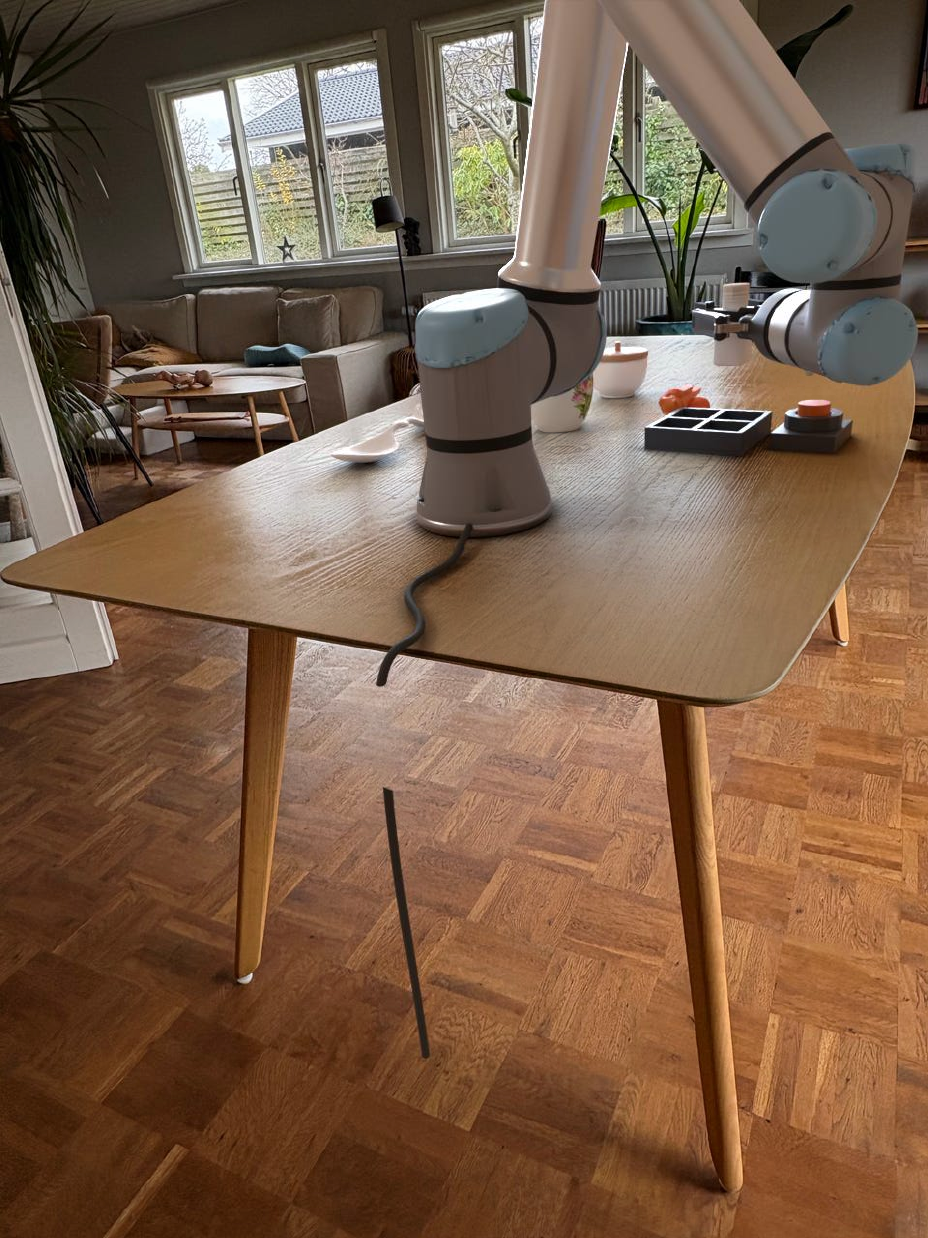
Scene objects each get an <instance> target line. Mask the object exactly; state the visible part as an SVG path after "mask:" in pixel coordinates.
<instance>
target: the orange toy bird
mask: <svg viewBox="0 0 928 1238" xmlns="http://www.w3.org/2000/svg"><path fill="white" fill-rule="evenodd" d="M701 390H702V387H701V386H699V385H693V384H690V383H688V382H687V383H686V384H683V385H681V386H679V387H669V388H667V389H666V390H665V392H664V394H662V395H661V396H660V397H659V400H658V405H659V407H660V410H661V412H662V413H663V415H664V416H666V415H668V414H670V413H671V412H673V411H675V410H677V409H679V408H681V407H688V408H709V409H711V403H710V401H709V400H708V398H706V397H704V396H702V395H699V394H700V392H701Z"/></svg>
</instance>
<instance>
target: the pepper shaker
mask: <svg viewBox="0 0 928 1238" xmlns="http://www.w3.org/2000/svg"><path fill="white" fill-rule="evenodd" d="M750 287H751V283H750V282H735V283H727V284H726V283H725V284H723V285H722V299H721V302H722V306H721V309H734V310H739V308H740V307H747V306H748V300H749V299H750ZM752 350H753V342H752V341H751V340H747V339H739V338H738V336H737V334H736V333H730V336H729V338H725V340H722V341H717V340H714V339H713V355H712V357H713V358H712V362H713V365H714V366H717V367H742V366H744V365H746V364H747V363H749V362H750V361H751V359H752Z"/></svg>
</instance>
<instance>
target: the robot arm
mask: <svg viewBox="0 0 928 1238" xmlns="http://www.w3.org/2000/svg"><path fill="white" fill-rule="evenodd" d="M542 15H543V16H542V23H541V31H540V40H539V49H538V57H537V65H536V74H535V82H534V89H533V97H532V98H533V99H532V106H531V115H530V125H529V133H528V139H527V148H526V155H525V156H526V157H525V164H524V174H523V182H522V190H521V197H520V206H519V215H518V222H517V230H516V239H515V248H514V255H513V258H512V259H511V260H510V261H509V262H508V263H507V264H506V265H504V266H503V267H502V268H501V269H500V270H499V271H498V276H497V277H498V278H497V286H496V288H486V289H479V290H472V291H466V292H464V293H462V294H453V295H450V296H447V297H446V296H445V297H442V298H440V299H437V300H435V301H433V302H430V303H429V304H427V305H425V306H424V307H423V308H421V310H419V312H418V313H417V315H416V318H415V322H414V323H415V324H414V327H415V329H414V330H415V345H414V354H415V358H416V361H417V370H418V371H417V372H418V382H419V389H420V390H419V391H420V398H421V407H422V408H421V409H423V418H424V427H425V428H424V434H425V435H424V436H425V444H426V445H425V446H426V457H425V463H424V467H423V470H422V471H423V472H422V475H421V480H420V486H419V492H418V495H417V499H416V516H417V523H418V525H419V526H420V527H421V528H423V529H425V530H426V531H429V532H432V533H434V534H437V535H442V536H449V537H457V538H458V537H459V539H458V541H457V545H456V547H455V550H454V552H453V553H452V555H451V556H450V557H448V558H447V559H446V560H444V561H443V562H441V563H440V564H438V565H436V566H434V567H432V568H430V569H428V570H427V571H424V572H423V573H421V574H419V575H418V576H416V577H415V578H414V579H413V580H412V581H411V582H409V584H408V585H407V587H406V588H405V590H404V595H403V596H404V597H403V599H404V603H405V605H406V608H407V609H408V610H409V613H411V615H412V616H413V618H414V621H415V628H414V630H413V632H412V633H411V634H409V635H408V636H406V637H405V638H403V639H401V640H399V641H397V642H396V643H395V644H394V645H392V647H390V649H389V650H388V651H387V652H386V654H385V655H384V657H383V659H382V661H381V663H380V667H379V669H378V673H377V675H376V681H375V685H376V687H379V688H380V687H381V688H382V687H384V686H386V685H387V683H388V677H389V674H390V672H391V671H390V670H391V668H392V665H393V663H394V661H395V659H396V658H397V656H399V655H400V654H401V653H402V652H404V650H406V649H408V648H410V647H411V646H413V645H414V644H416V643H418V641H420V640H421V638H422V637H423V636H424V633H425V629H426V619H425V617H424V614H423V612H422V611H421V609H420V608H419V607H418V606H417V604H416V603H415V600H414V596H413V595H414V592H415V591H416V589H417V588H418V587H419V586H421V585H422V584H424V583H426V582H427V581H428V580H430V579H432V578H434V577H436V576H438V575H440V574H441V573H443V572H445V571H446V570H448V569H450V568H451V567H452V566H453V565H454V564H455V563H456V562H458V560H459V559H460V558H461V556H462V554H463V552H464V550H465V546H466V543H467V541H468V539H469V538H482V537H484V538H485V537H495V536H501V535H508V534H512V533H517V532H521V531H524V530H528V529H530V528H533V527H536V526H537V525H540V524H541V523H543V522H544V521H546V520H547V519H548V518H549V517H550V516H551V514H552V512H553V511H552V508H553V507H552V498H551V491H550V487H549V485H548V484H547V481H546V478H545V475H544V472H543V469H542V466H541V464H540V461H539V458H538V456H537V452H536V450H535V448H534V443H533V428H532V419H531V405H532V404H534V403H537V402H539V401H542V400H544V399H547V398H549V397H552V396H558V395H561V394H564V393H567V392H569V391H570V390H572V389H573V388H575V387H576V386H577V385H579V384H580V383H582V382H583V381H585V380H586V379H587V378H588V377H589V376H590V375H591V374H592V373H593V372H594V371H595V369H596V368H597V366H598V364H599V363H600V361H601V359H602V356H603V353H604V350H605V348H606V345H607V339H608V337H607V333H608V332H607V323H606V319H605V316H604V315H603V314H602V312H601V308H600V306H599V299H600V295H601V290H602V289H601V288H602V283H601V281H600V280H599V278H598V276H597V275H596V274H595V272H594V270H593V269H592V260H593V254H594V248H595V242H596V236H597V231H598V224H599V219H600V212H601V207H602V201H603V195H604V189H605V184H606V178H607V171H608V166H609V160H610V153H611V147H612V141H613V137H614V130H615V124H616V117H617V111H618V105H619V100H620V95H621V94H620V93H621V88H622V82H623V76H624V69H625V64H626V58H627V52H628V47H630V48H631V50H632V52H633V53H634V54H635V55H636V57H637V58H638V60H639V61H640V63H641V65H643V67H644V68H645V70H646V71H647V72H648V74H649V75H650V77H651V78H652V79H653V81H654V82H655V84H656V85H657V87H658V89H659V90H660V91H661V92H662V94H663V95H664V97H665V98H666V99H667V101H668V102H669V103H670V105H671V107H672V108H673V109H674V111H675V112H676V114H677V115H678V116H679V118H680V119H681V121H682V122H683V123H684V125H685V126H686V128H687V129H688V131H689V132H690V133H691V135H692V136H693V138H694V139H695V141H696V142H697V143H698V145H699V146H700V147H701V149H702V150H703V152H704V153H705V155H706V156H707V157H708V159H709V160H710V162H711V163H712V165H713V166H714V167H715V169H716V170H717V172H718V173H719V175H720V176H721V177H722V179H723V180H724V181H725V183H726V185H727V186H728V187H729V188H730V190H731V191H732V193H733V194H734V195H735V198H737V200H738V201H739V203H740V204H741V206H742V207H743V208H744V210H745V211H746V212H747V214H748V216H749V217H750V219H751V221H752V222H753V224H754V225H755V226H756V228H757V245H758V249H759V250H758V251H759V253H760V257H761V259H762V260H763V262H764V264H765V266H766V267H767V268H768V270H770V271H771V273H773V274H774V275H776V276H777V277H779V278H781V279H782V280H785V281H788V282H790V283H798V284H810V285H809V288H810V289H804V288H803V289H802V288H795V287H792V288H791V287H790V288H786V289H782V290H779V291H776V292H775V293H773V294H772V295H771V296H769V297H768V298H767V299H766V300H762V299H761V300H760V299H754V298H749V300H748V306H747V307H740V308H739V310H734V309H722V307H721V308H720V305H717V304H715V303H716V301H714V300H713V301H711V300H710V301H705V302H702V301H699V302H697V301H696V302H694V309H693V310H692V312H691V313H692V317H691V333H695V334H698V335H702V336H706V337H708V338H713V341H714V340H717V341H722V340H725V338H729V336H730V333H736V334H737V336H738V338H739V339H747V340H751V341H752V344H753V345H755V348H756V349H757V350H758V352H759V353H760V354H761V355H762V356H763V357H764V358H766V359H768V360H770V361H772V362H775V363H779V364H782V365H786V366H791V367H794V368H797V369H801V370H803V371H804V373H805V375H806V376H808V377H810V376H814V375H815V374H816V375H819V376H822V377H824V378H827V379H829V380H830V381H831V382H832V381H833V382H834V383H839V384H844V383H845V384H847V385H848V384H850V385H855V386H856V385H857V386H865V387H866V386H868V387H870V386H874V385H879V384H881V383H884V382H886V381H888V380H889V379H891V378H893V377H895V376H896V375H897V374H898V373H899V372H901V371H902V370H903V369H904V367H905V366H906V365H907V364H908V362H909V361H910V360H911V358H912V356H913V354H914V352H915V350H916V346H917V343H918V339H919V337H918V335H919V328H918V326H917V322H916V319H915V316H914V314H913V312H912V310H911V309H910V308H909V307H908V306H907V305H905V304H904V303H903V302H900V295H901V287H902V283H901V282H902V270H903V264H904V257H905V251H906V245H907V244H906V243H907V239H908V238H907V237H908V231H909V225H910V217H911V211H912V205H913V198H914V193H916V191H917V182H916V171H917V159H918V155H917V154H918V153H917V149H916V148H915V146H914V145H912V144H911V143H909V142H908V143H907V142H900V143H883V144H872V145H867V146H866V145H865V146H859V147H857V146H856V147H850V148H844V147H843V146H842V145H841V143H840V142H839V141H838V140H837V139H836V137H835V136H834V135H833V132H832V130H831V129H830V127H829V126H828V125H827V124H826V122H825V121H824V119H823V118H822V116H821V114H819V112H818V110H817V108H815V106H814V105H813V103H812V102H811V100H810V99H809V98H808V96H807V95H806V93H805V92H804V91H803V89H802V88H801V86H800V85H799V83H798V82H797V81H796V80H795V77H793V74H791V72H790V70H789V69H788V67H786V65H785V64H784V62H783V60H782V59H781V58H780V57H779V55H778V54H777V52H776V51H775V49H774V48H773V46H772V45H771V44H770V43H769V41H768V39H767V38H766V37H765V35H764V34H763V32H762V30H761V29H760V28H759V27H758V25H757V24H756V23H755V21H754V19H753V18H752V17H751V15H750V13H749V12H748V11H747V10H746V8H745V7H744V5H743V4H742V2H741V1H740V0H544V6H543V14H542ZM382 795H383V804H384V814H385V822H386V832H387V839H388V848H389V858H390V864H391V871H392V877H393V884H394V890H395V897H396V904H397V910H398V917H399V922H400V929H401V935H402V941H403V945H404V953H405V959H406V963H407V964H406V965H407V970H408V975H409V981H410V987H411V988H410V989H411V994H412V1000H413V1005H414V1006H413V1007H414V1013H415V1018H416V1024H417V1032H418V1040H419V1045H420V1052H421V1057H422V1059H424V1060H428V1059H429V1058H430V1056H431V1051H430V1044H429V1037H428V1030H427V1023H426V1016H425V1009H424V1003H423V997H422V989H421V983H420V979H419V973H418V966H417V960H416V959H417V958H416V953H415V947H414V941H413V935H412V934H413V933H412V929H411V923H410V915H409V910H408V903H407V897H406V896H407V895H406V889H405V882H404V876H403V868H402V867H403V866H402V860H401V853H400V845H399V837H398V827H397V826H398V825H397V818H396V810H395V809H396V807H395V799H394V790H391V789H390V788H387V787H384V786H382Z"/></svg>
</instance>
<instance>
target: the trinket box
mask: <svg viewBox="0 0 928 1238" xmlns="http://www.w3.org/2000/svg"><path fill="white" fill-rule="evenodd" d="M648 356H649V350H648V348H645V347H641V346H622V344H621V341H618V340H617V341H614V347H605V350H604V353H603V356H602V359H601V361H600V363H599V364H598V366H597V368H596V369H595V371H594V372H593V389H594V390H595V391H596V392H597V393H599V394H600V397H601V398H603V399H624V398H629V397H633V396H635V393H636V392H637V391H638V390H639V389H640V388H641V386H642V385H643V383H644V381H645V378H646V374H647V369H648Z"/></svg>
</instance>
